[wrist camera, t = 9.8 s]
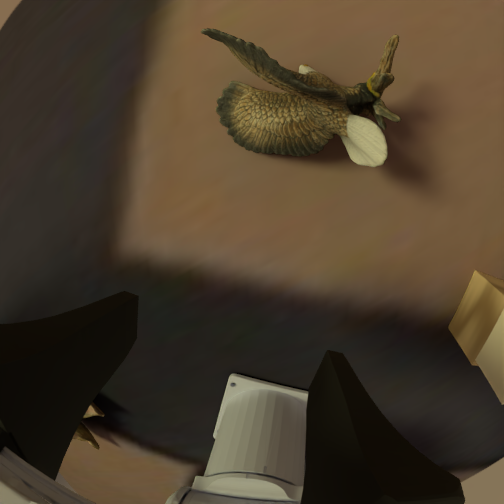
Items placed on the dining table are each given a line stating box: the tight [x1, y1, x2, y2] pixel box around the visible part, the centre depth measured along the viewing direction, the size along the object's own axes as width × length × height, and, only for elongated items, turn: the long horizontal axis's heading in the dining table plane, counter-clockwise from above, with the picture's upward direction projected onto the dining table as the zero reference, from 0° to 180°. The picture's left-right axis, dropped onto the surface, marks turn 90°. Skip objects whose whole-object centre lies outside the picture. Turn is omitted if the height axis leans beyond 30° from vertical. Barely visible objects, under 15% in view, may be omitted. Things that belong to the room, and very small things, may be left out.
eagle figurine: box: [201, 28, 401, 167], centre depth 15 cm, size 8×8×10 cm
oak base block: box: [448, 270, 504, 366], centre depth 17 cm, size 5×5×5 cm
